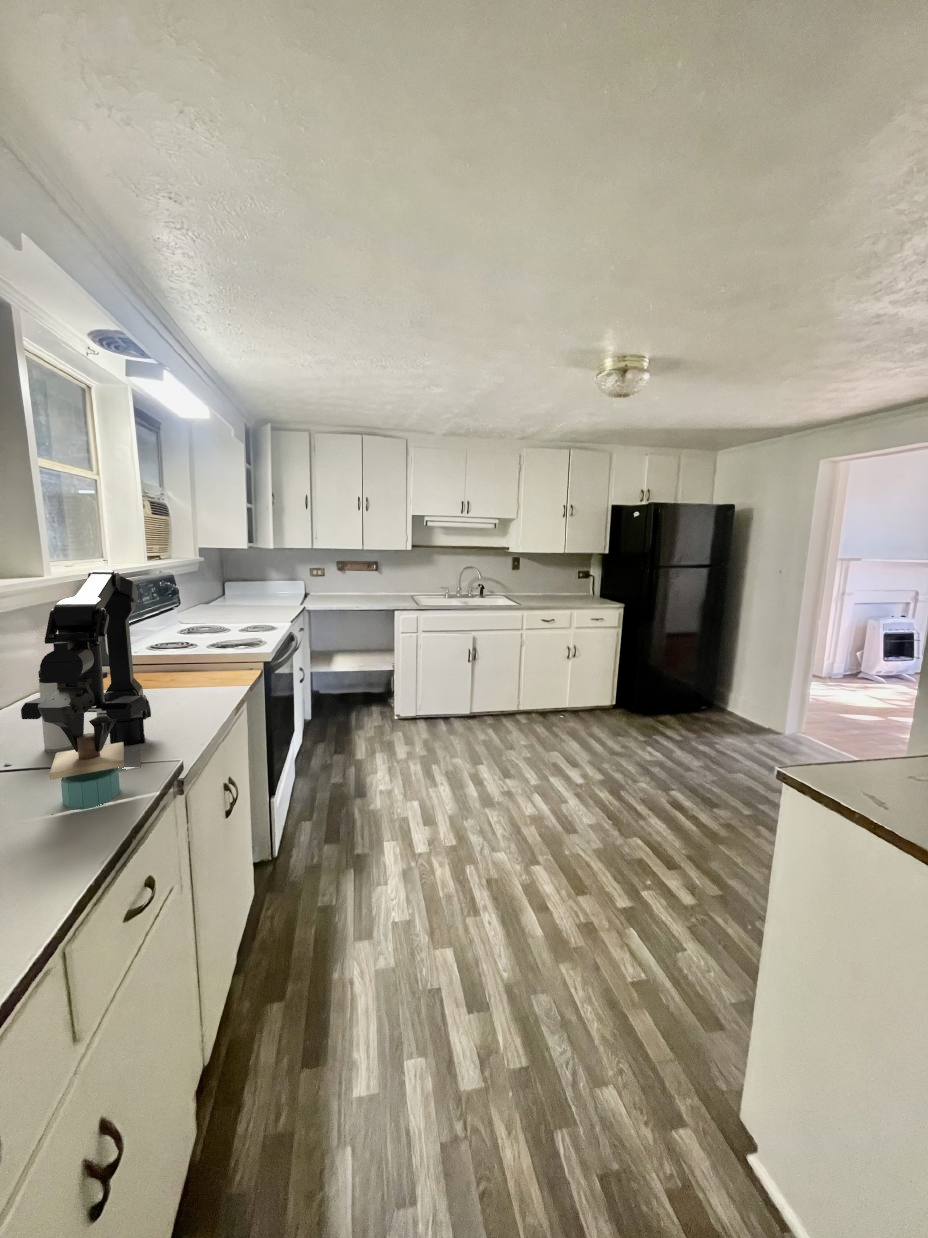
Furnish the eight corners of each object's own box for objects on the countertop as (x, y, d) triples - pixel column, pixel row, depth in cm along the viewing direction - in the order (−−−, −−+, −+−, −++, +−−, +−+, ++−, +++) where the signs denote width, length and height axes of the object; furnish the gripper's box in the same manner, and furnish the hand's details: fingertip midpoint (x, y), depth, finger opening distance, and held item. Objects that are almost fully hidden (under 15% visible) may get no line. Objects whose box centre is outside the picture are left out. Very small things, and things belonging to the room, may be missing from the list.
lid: (123, 747, 99) (122, 723, 98) (123, 766, 91) (122, 739, 90) (56, 758, 93) (54, 732, 93) (50, 779, 85) (47, 751, 84)
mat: (139, 751, 115) (139, 749, 115) (141, 769, 105) (141, 767, 105) (75, 762, 108) (74, 759, 108) (70, 782, 99) (70, 780, 98)
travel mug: (86, 744, 119) (81, 663, 116) (62, 754, 112) (55, 669, 110) (63, 742, 119) (57, 662, 117) (37, 753, 113) (30, 668, 110)
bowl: (119, 784, 99) (118, 760, 98) (119, 801, 92) (117, 776, 91) (65, 794, 94) (63, 770, 93) (61, 814, 87) (59, 787, 86)
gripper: (-11, 681, 81) (-2, 770, 83) (108, 681, 82) (114, 769, 84) (41, 666, 92) (48, 745, 94) (145, 666, 94) (150, 744, 95)
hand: (89, 751), depth 92 cm, fingers closed on lid, 3 cm apart
